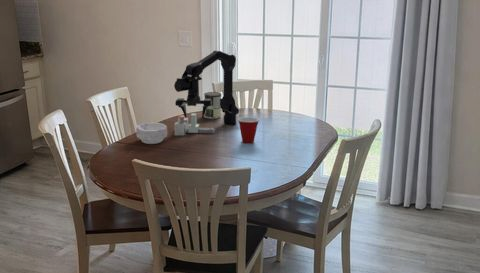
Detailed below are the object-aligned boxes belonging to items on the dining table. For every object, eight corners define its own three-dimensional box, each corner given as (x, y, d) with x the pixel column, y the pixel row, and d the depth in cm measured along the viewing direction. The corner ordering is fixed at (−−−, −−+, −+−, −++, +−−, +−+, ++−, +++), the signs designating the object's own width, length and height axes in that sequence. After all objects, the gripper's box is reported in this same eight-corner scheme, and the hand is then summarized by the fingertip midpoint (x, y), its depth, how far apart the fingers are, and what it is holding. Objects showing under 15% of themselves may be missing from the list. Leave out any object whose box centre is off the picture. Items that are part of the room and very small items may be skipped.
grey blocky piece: (188, 128, 271) (188, 117, 269) (184, 135, 257) (183, 124, 256) (179, 128, 271) (179, 117, 269) (174, 135, 258) (174, 124, 256)
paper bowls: (167, 145, 241) (167, 129, 238) (136, 146, 238) (135, 130, 236) (167, 136, 255) (166, 121, 253) (137, 137, 253) (136, 122, 250)
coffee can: (204, 118, 291) (204, 95, 287) (204, 114, 301) (203, 92, 297) (222, 118, 292) (222, 95, 288) (220, 114, 302) (220, 91, 298)
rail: (214, 131, 264) (214, 128, 264) (213, 133, 262) (213, 129, 261) (187, 131, 265) (187, 127, 265) (186, 132, 262) (186, 129, 262)
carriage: (199, 130, 266) (199, 113, 263) (197, 132, 261) (197, 115, 258) (190, 129, 266) (189, 113, 263) (188, 132, 261) (188, 115, 259)
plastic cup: (259, 139, 253) (260, 116, 250) (258, 145, 243) (258, 121, 239) (238, 138, 254) (238, 115, 251) (236, 144, 244) (236, 121, 240)
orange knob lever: (185, 124, 265) (185, 115, 263) (184, 126, 261) (184, 117, 260) (179, 124, 265) (178, 115, 263) (177, 126, 261) (177, 116, 260)
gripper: (172, 92, 250) (174, 121, 254) (209, 92, 249) (209, 122, 253) (176, 87, 260) (178, 116, 265) (211, 88, 259) (212, 116, 264)
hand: (194, 117), depth 261 cm, fingers open, 9 cm apart
